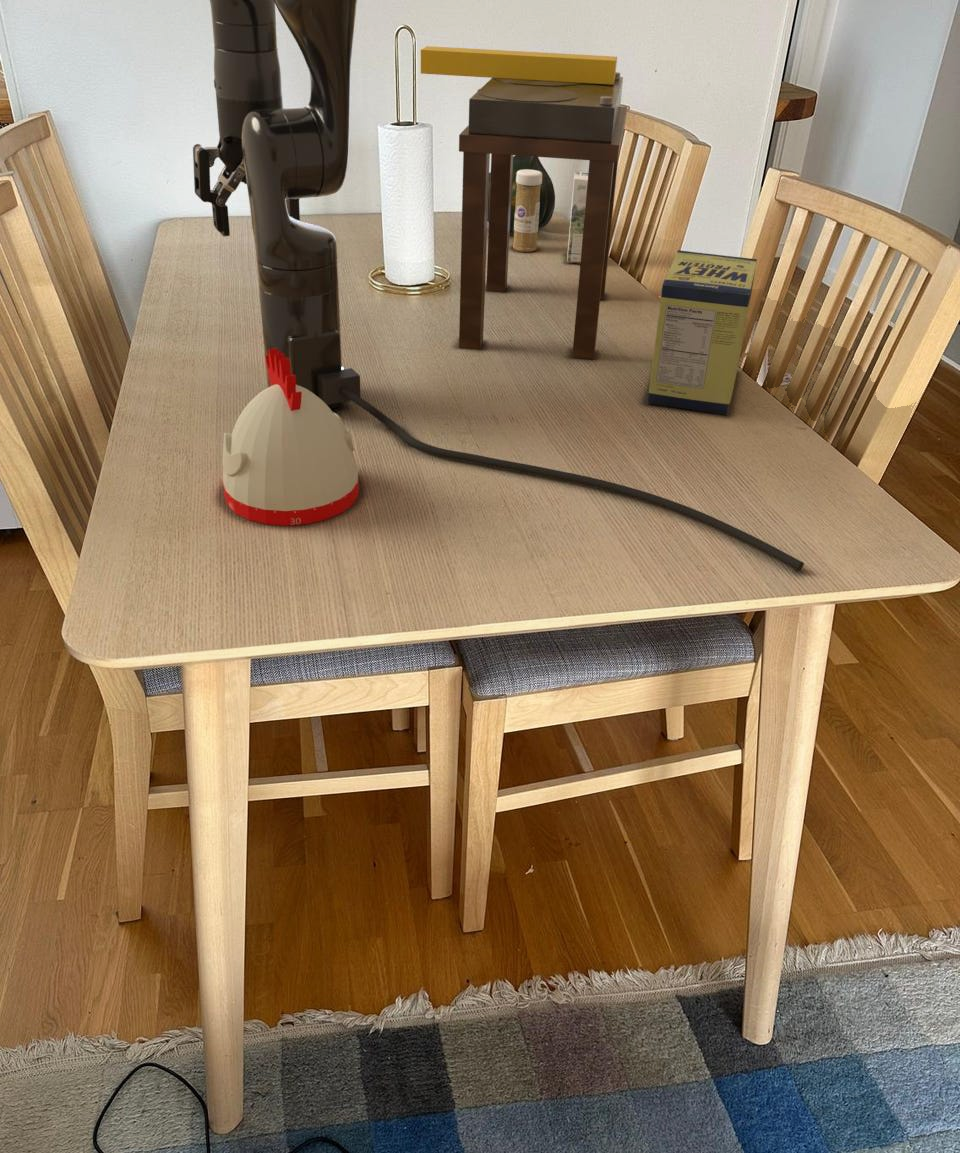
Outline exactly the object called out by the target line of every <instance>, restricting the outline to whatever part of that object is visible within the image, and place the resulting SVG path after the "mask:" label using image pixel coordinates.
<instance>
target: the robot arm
mask: <svg viewBox="0 0 960 1153" xmlns="http://www.w3.org/2000/svg"><path fill="white" fill-rule="evenodd" d="M209 4H210V12H211V24H212V35H213V36H212V37H213V45H214V46H213V51H214V52H213V76H214V77H213V86H214V90H215V100H216V110H217V111H216V112H217V122H218V134H219V135H218V136H219V140H218V144H217V146H203V145H202V144H200V143H196V144H194V145H193V146H192V162H193V163H192V164H193V183H194V184H193V185H194V194H195V196H197V197H198V198H199V200H200V201H202V202H203V203H210V204H211V210H212V220H213V226H214V228H215V230H216V231H217V232H218V233H219V234H220V235H221V236H222V237H230V235H231V231H230V221H229V220H230V219H229V207H228V205H227V201H228V200H229V199H230V197H231V195H232V194H233V192H235V191H236V190H237V189H238V188H239V185H240V184H241V183H242V184H244V185H246V188H247V196H248V204H249V210H250V211H249V212H250V219H251V220H250V222H251V229H252V235H253V241H254V248H255V258H256V259H255V260H256V265H257V266H256V268H257V279H258V280H257V281H258V291H259V304H260V316H261V327H262V338H263V348H264V349H263V350H264V356H265V355H269V349H273V348H278V351H279V353H284V356H285V358H289V360H290V368H291V375H296V385H298V386H301V387H303V388H305V389H307V390H309V391H310V392H312V393H313V394H315V395H316V396H317V397H319V398H320V399H321V400H322V401H323V402H324V403H325V404H326V405H327V406H328V407H329V408H330V409H331V410H333V409H336V408H341V407H343V406H344V403H345V402H350V401H351V402H353V403H354V404H355V405H357V406H358V407H360V408H362V409H363V410H364V411H365V412H366V413H369V414H370V415H371V416H372V417H374V418H375V419H376V420H378V421H379V422H380V423H381V424H383V425H384V426H386V427H387V428H389V430H391V431H392V432H393V433H395V434H396V436H398V437H399V438H400V439H401V440H402V441H403V442H404V443H406V444H407V445H409V446H411V447H412V448H415V449H417V450H419V451H421V452H425V453H427V454H430V455H434V456H438V457H440V458H441V457H442V458H446V459H451V460H457V461H463V462H468V463H474V464H478V465H484V466H489V467H493V468H499V469H503V470H508V471H514V472H515V471H516V472H519V473H520V472H521V473H526V474H531V475H536V476H542V477H546V478H551V479H556V480H561V481H566V482H570V483H575V484H581V485H584V486H589V487H593V488H597V489H601V490H605V491H608V492H609V491H610V492H613V493H616V494H621V495H624V496H627V497H631V498H634V499H638V500H641V501H645V502H648V503H652V504H653V505H657V506H659V507H662V508H665V509H668V510H671V511H674V512H676V513H679V514H681V515H684V516H686V517H689V518H692V519H694V520H696V521H699V522H701V523H703V524H705V525H708V526H709V527H712V528H714V529H716V530H718V531H720V532H722V533H725V534H727V535H729V536H731V537H734V538H735V539H737V540H740V541H742V542H743V543H746V544H747V545H749V546H751V547H754V548H755V549H757V550H759V551H761V552H763V553H765V554H767V555H768V556H770V557H772V558H774V559H776V560H778V561H780V562H782V563H783V564H785V565H787V566H789V567H791V568H792V569H795V570H796V571H799V572H800V571H801V570H802V569H803V568H804V565H805V563H804V562H803V561H801V560H800V559H797V558H795V556H792V555H790V554H788V553H786V552H784V551H783V550H781V549H779V548H777V547H776V546H773V545H772V544H769V543H767V542H765V541H763V540H761V539H759V538H757V537H756V536H754V535H751V534H749V533H747V532H745V531H743V530H741V529H739V528H737V527H735V526H733V525H731V524H728V523H726V522H724V521H722V520H720V519H717V518H716V517H713V516H711V515H708V514H707V513H704V512H702V511H699V510H698V509H695V508H692V507H689V506H687V505H684V504H682V503H679V502H677V501H674V500H671V499H668V498H665V497H662V496H659V495H658V494H657V495H656V494H653V493H650V492H647V491H645V490H640V489H637V488H633V487H630V486H626V485H622V484H619V483H615V482H611V481H607V480H604V479H600V478H595V477H591V476H587V475H582V474H577V473H572V472H567V471H564V470H563V471H562V470H558V469H552V468H548V467H542V466H537V465H532V464H527V463H522V462H517V461H511V460H504V459H499V458H494V457H489V456H485V455H484V456H483V455H479V454H473V453H468V452H462V451H457V450H451V449H448V448H447V449H446V448H443V447H442V448H441V447H438V446H435V445H432V444H428V443H426V442H423V441H420V440H418V439H416V438H414V437H413V436H411V434H409V433H407V432H406V431H405V430H404V429H403V428H402V427H401V426H400V425H398V423H396V422H395V421H394V420H392V419H391V418H390V417H389V416H387V415H385V414H384V413H383V412H381V410H379V409H378V408H377V407H375V406H374V405H372V404H371V403H370V402H368V401H367V400H365V399H364V398H362V395H361V394H362V393H361V375H360V374H359V373H358V372H357V371H356V370H354V369H353V368H352V367H350V368H345V369H344V366H343V358H342V333H341V314H340V311H341V310H340V292H339V289H340V288H339V268H338V245H337V238H336V236H335V235H334V233H333V232H331V231H330V230H328V229H327V228H325V227H322V226H321V225H316V224H313V223H309V222H305V221H301V216H300V215H301V213H300V212H301V210H300V199H308V198H319V197H326V196H331V195H334V194H336V193H338V192H339V191H340V190H341V189H342V187H343V185H344V183H345V180H346V177H347V172H348V165H349V154H350V126H351V125H350V123H351V122H350V119H351V118H350V117H351V81H352V80H351V76H352V60H353V49H354V48H353V47H354V46H353V45H354V38H355V37H354V36H355V27H356V26H355V25H356V16H357V9H358V0H209ZM277 10H278V13H279V14H280V16H281V18H282V19H283V21H284V23H285V25H286V26H287V28H288V30H289V31H290V33H291V35H292V37H293V38H294V40H295V42H296V44H297V46H298V48H299V50H300V53H301V55H302V57H303V60H304V62H305V64H306V67H307V71H308V77H309V84H310V89H309V90H310V92H309V102H308V103H307V105H306V106H289V107H284V104H283V103H284V102H283V82H282V81H283V80H282V67H281V62H280V55H279V48H278V47H279V46H278V29H277V28H278V26H277V25H278V24H277ZM217 158H218V159H219V160H220V161H221V162H222V163H223V165H224V166H223V168H222V170H221V171H220V173H219V174H218V176H217V181H216V183H215V184H214V186H213V188H212V189H211V171H210V170H211V168H212V167H214V165H215V162H216V159H217ZM264 362H265V364H266V361H265V360H264ZM265 371H266V384H267V388H268V387H270V386H271V384H270V380H269V375H268V371H267V366H266V365H265Z"/></svg>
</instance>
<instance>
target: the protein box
mask: <svg viewBox="0 0 960 1153" xmlns="http://www.w3.org/2000/svg"><path fill="white" fill-rule="evenodd" d="M757 262H758V259H757V258H750V257H749V258H748V257H741V256H730V255H723V254H716V253H715V254H713V253H704V252H695V251H687V250H681V249H678V250H677V252H676V254H675V256H674V258H673V260H672V262H671V265H670V266H669V269H668V272H667V274H666V276H665V277H664V280H663V283H662V285H661V294H660V302H659V303H660V304H659V310H658V318H657V327H656V334H655V342H654V349H653V356H652V361H651V370H650V379H649V385H648V393H647V401H646V403H647V404H649V405H655V406H663V407H671V408H676V409H684V410H692V411H697V412H706V413H713V414H719V415H725V416H728V415H729V411H730V406H731V402H732V398H733V393H734V389H735V385H736V384H735V383H736V378H737V375H738V374H737V373H738V368H739V365H740V358H741V353H742V350H743V349H742V348H743V342H744V336H745V332H746V327H747V321H748V316H749V312H750V311H749V310H750V306H751V299H752V293H753V287H754V280H755V272H756V266H757Z"/></svg>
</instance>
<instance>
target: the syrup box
mask: <svg viewBox="0 0 960 1153" xmlns="http://www.w3.org/2000/svg"><path fill="white" fill-rule="evenodd" d="M588 172H589V171H574V173H573V184H572V194H571V206H570V218H569V221H570V222H569V228H568V229H569V230H568V242H567V256H566V263H568V264H579V265H580V262H581V251H582V240H583V228H584V217H585V206H586V194H587V183H588Z"/></svg>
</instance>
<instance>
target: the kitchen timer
mask: <svg viewBox="0 0 960 1153" xmlns="http://www.w3.org/2000/svg"><path fill="white" fill-rule="evenodd" d="M265 361H266V363H265V367H266V366H267V371H268V375H269V380H270V384H271V386H270V387H268V386H267V388H264V389H263V390H261V391H260V392H259V393H258V394H256V395H255V396H254V397H253V398H252V399H251V400H250V401H249V402H248V403H247V404H246V406H245V407H244V409H243V410H242V411H241V413H240V415H239V416H238V418H237V420H236V422H235V423H234V427H233V429H232V433H229V432H223V444H222V445H223V447H222V469H223V471H222V484H223V485H222V486H223V494H224V498H225V502H226V506H227V507H228V508H229V509H230V510H231V511H232V512H233V513H235V515H238V516H240V517H242V518H244V519H246V520H248V521H252V522H255V523H259V524H265V525H272V526H299V525H308V524H313V523H318V522H323V521H325V520H328V519H330V518H334V517H335V516H338V515H340V514H342V513H343V512H345V511H346V510H347V509H349V508H350V507H352V506H353V504H354V503H355V502H356V500H357V498H358V497H359V492H360V491H359V490H360V483H359V480H360V479H359V470H358V464H357V459H356V457H355V454H354V451H355V447H354V443H353V437H352V433H351V431H350V430H348V429H347V428H346V425H345V424H344V421H343V420H342V418H341V417H340V415H339V414H338V413H335V412H334V411H332V409H330V408H329V407H328V406H327V405H326V404H325V403H324V402H323V401H322V400H321V399H320V398H319V397H317V396H316V395H315V394H313V393H312V392H310V391H309V390H307V389H305V388H303V387H301V386H298V385H296V375H291V368H290V360H289V358H285V356H284V353H279V351H278V348H273V349H269V355H265V354H264V362H265Z"/></svg>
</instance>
